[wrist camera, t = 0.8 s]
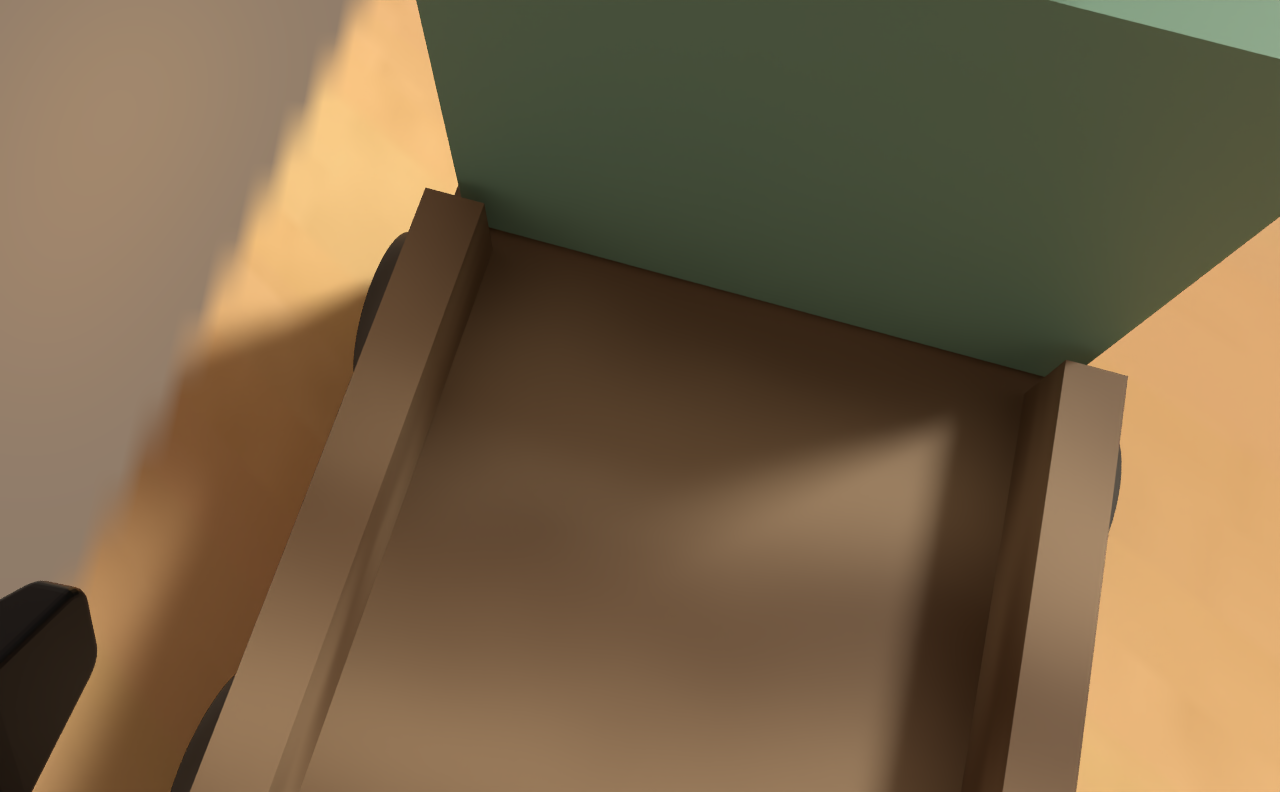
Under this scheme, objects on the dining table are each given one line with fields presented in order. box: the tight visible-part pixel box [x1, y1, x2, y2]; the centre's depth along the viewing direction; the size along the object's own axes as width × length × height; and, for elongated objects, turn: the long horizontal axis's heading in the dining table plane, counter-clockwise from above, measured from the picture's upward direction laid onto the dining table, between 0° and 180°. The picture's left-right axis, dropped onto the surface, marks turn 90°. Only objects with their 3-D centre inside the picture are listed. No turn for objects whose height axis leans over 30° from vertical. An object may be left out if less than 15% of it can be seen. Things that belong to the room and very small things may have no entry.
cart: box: [171, 185, 1128, 792], centre depth 21 cm, size 16×16×6 cm
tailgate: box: [416, 0, 1280, 377], centre depth 16 cm, size 2×13×14 cm, turn 75°
